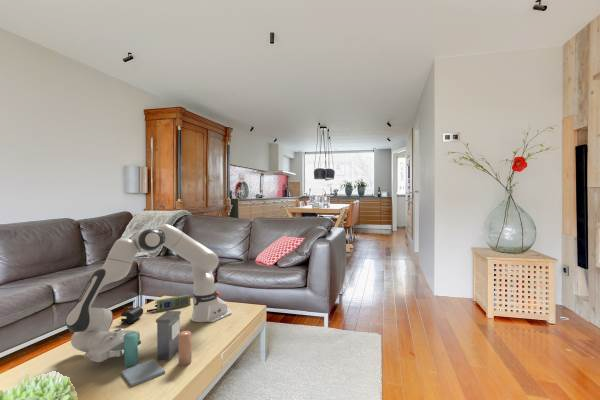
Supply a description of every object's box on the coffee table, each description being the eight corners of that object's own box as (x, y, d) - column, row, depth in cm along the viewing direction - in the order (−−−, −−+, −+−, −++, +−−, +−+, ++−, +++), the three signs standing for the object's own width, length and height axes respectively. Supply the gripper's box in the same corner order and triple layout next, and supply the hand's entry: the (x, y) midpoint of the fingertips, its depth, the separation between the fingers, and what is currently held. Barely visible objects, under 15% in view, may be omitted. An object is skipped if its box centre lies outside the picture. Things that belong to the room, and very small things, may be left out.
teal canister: (135, 359, 131) (135, 331, 131) (139, 363, 127) (139, 334, 127) (122, 363, 127) (122, 334, 127) (126, 368, 124) (125, 338, 124)
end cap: (133, 324, 166) (133, 312, 166) (120, 324, 167) (120, 312, 167) (143, 317, 176) (143, 305, 176) (131, 317, 177) (131, 305, 177)
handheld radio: (190, 305, 196) (147, 314, 182) (189, 304, 199) (146, 312, 185) (190, 295, 196) (147, 302, 182) (189, 293, 199) (146, 301, 185)
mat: (153, 361, 129) (153, 359, 129) (165, 373, 120) (165, 370, 120) (121, 373, 120) (121, 371, 120) (131, 386, 112) (131, 384, 112)
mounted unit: (168, 348, 140) (167, 310, 139) (181, 349, 139) (180, 311, 139) (156, 360, 130) (155, 319, 129) (170, 360, 129) (170, 319, 129)
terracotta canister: (188, 357, 132) (187, 329, 131) (193, 362, 128) (193, 333, 128) (176, 362, 128) (176, 333, 128) (181, 366, 124) (181, 337, 124)
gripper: (80, 347, 122) (107, 352, 117) (124, 326, 141) (149, 330, 137) (81, 363, 122) (108, 369, 117) (125, 340, 141) (149, 344, 137)
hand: (130, 348), depth 127 cm, fingers open, 8 cm apart
